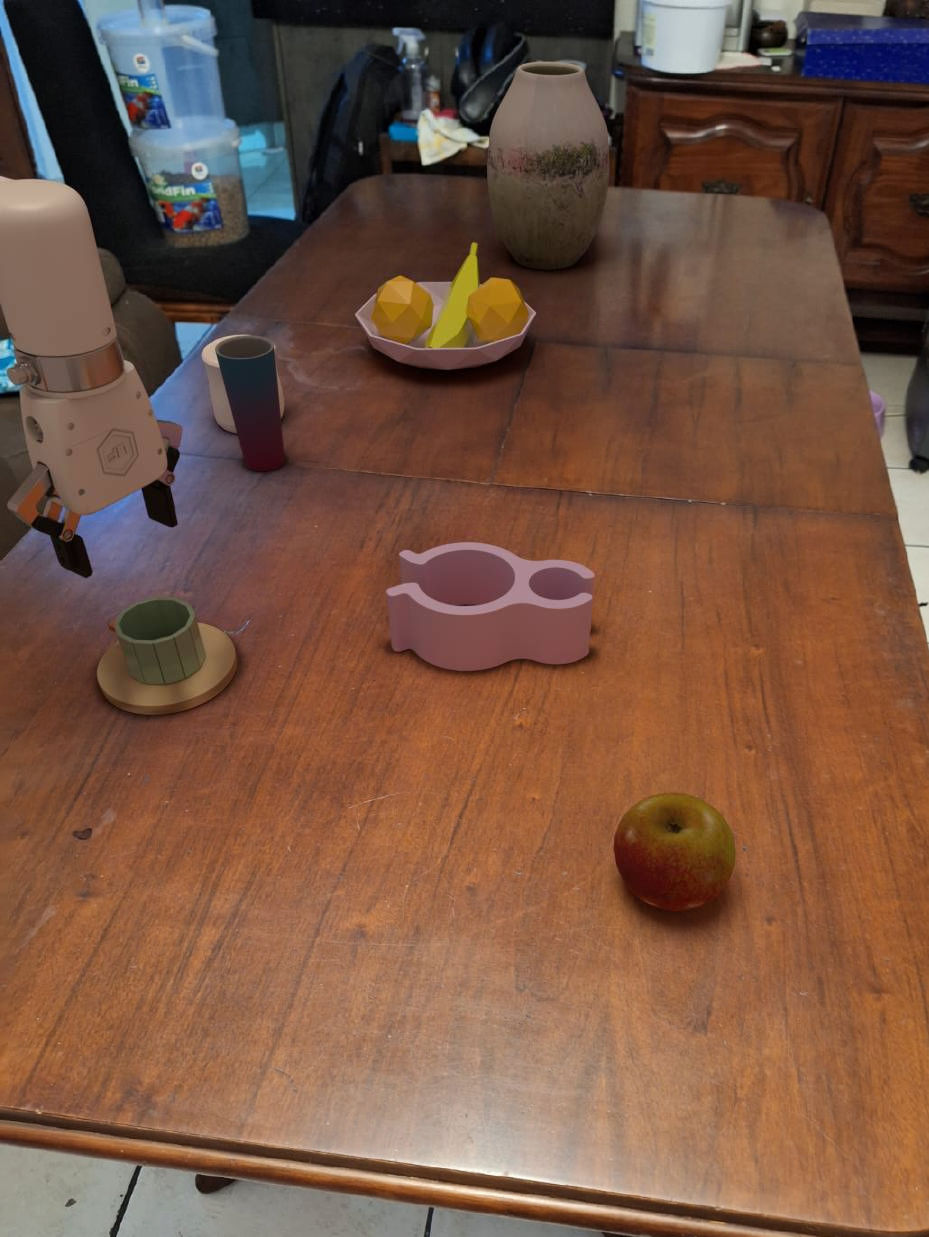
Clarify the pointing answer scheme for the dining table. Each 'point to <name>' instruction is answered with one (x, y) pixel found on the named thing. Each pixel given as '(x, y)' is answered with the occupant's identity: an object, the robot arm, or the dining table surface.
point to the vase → (548, 165)
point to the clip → (489, 607)
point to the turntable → (173, 695)
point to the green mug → (160, 640)
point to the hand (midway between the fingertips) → (122, 545)
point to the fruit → (674, 851)
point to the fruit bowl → (447, 319)
